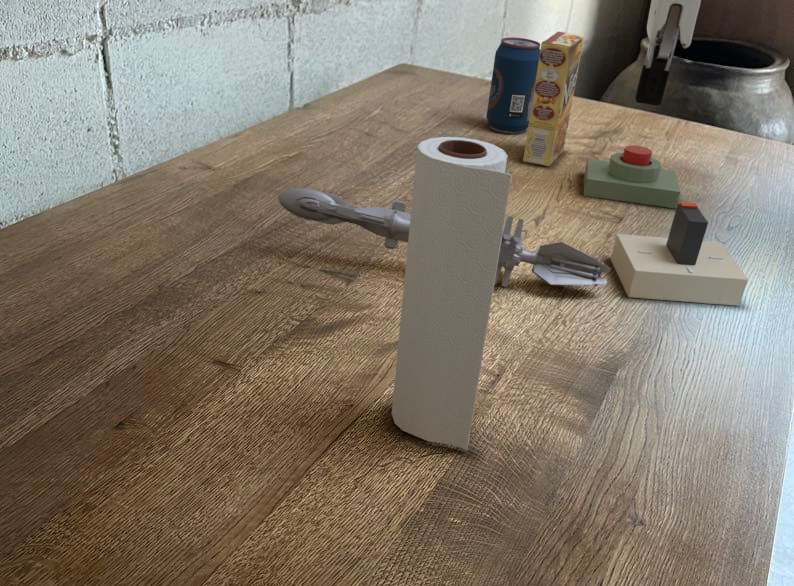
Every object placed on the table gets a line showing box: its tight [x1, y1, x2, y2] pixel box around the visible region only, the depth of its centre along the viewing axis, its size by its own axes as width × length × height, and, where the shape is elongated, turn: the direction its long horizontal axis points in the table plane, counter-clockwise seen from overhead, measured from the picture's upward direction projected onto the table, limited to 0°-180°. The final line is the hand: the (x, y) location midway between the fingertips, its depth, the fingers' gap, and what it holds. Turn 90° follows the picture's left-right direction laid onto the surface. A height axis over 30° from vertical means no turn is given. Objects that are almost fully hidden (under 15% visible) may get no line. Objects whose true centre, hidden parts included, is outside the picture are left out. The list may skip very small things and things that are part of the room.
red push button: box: [622, 145, 653, 166], centre depth 121 cm, size 4×4×2 cm
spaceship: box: [278, 187, 612, 288], centre depth 95 cm, size 8×35×8 cm
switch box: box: [583, 152, 681, 210], centre depth 122 cm, size 12×9×4 cm
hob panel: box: [610, 233, 749, 307], centre depth 100 cm, size 12×10×3 cm
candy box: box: [522, 31, 585, 167], centre depth 127 cm, size 9×4×15 cm, turn 159°
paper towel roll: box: [391, 136, 513, 452], centre depth 67 cm, size 7×6×21 cm
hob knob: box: [666, 201, 709, 265], centre depth 97 cm, size 5×2×5 cm, turn 0°
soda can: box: [486, 37, 541, 135], centre depth 138 cm, size 7×7×12 cm
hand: (647, 102), depth 116 cm, fingers closed
